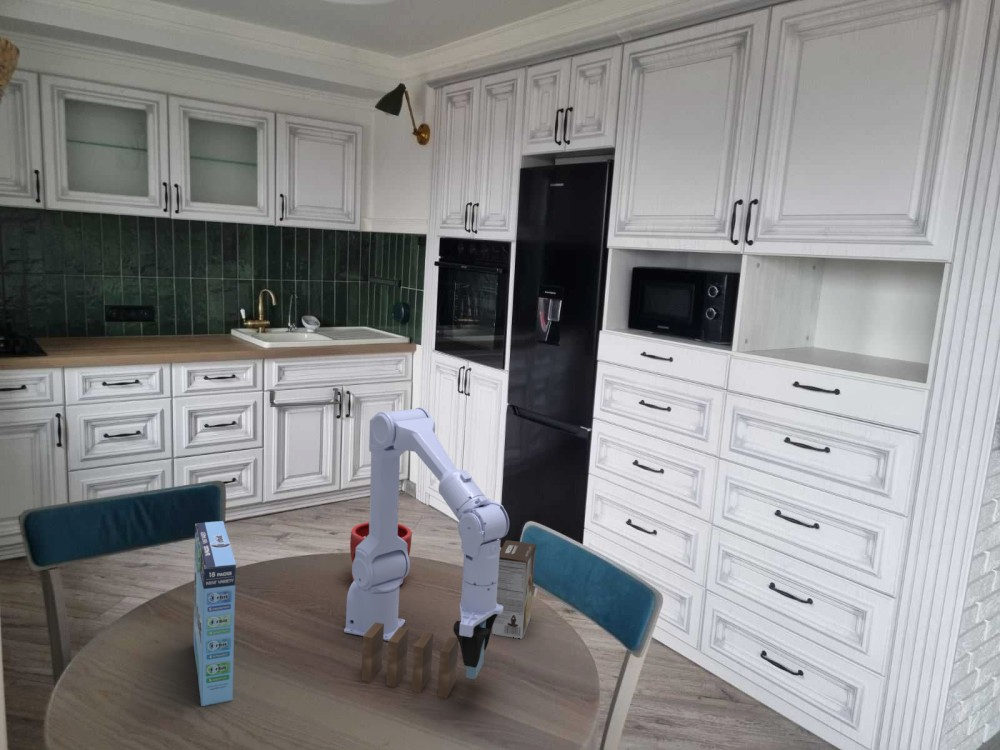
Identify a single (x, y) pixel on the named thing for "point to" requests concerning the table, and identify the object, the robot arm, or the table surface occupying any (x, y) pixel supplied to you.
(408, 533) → the plant pot
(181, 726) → the table surface
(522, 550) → the coffee box
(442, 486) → the robot arm
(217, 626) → the light blue carton box
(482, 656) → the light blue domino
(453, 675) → the walnut domino
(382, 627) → the walnut domino
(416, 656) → the walnut domino
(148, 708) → the table surface
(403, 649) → the walnut domino
